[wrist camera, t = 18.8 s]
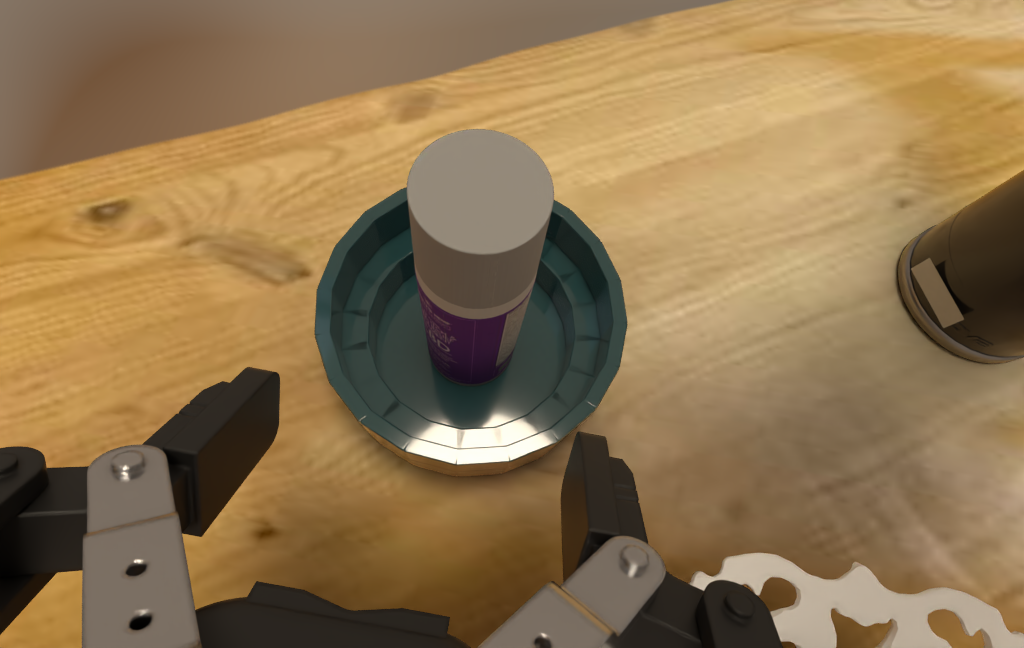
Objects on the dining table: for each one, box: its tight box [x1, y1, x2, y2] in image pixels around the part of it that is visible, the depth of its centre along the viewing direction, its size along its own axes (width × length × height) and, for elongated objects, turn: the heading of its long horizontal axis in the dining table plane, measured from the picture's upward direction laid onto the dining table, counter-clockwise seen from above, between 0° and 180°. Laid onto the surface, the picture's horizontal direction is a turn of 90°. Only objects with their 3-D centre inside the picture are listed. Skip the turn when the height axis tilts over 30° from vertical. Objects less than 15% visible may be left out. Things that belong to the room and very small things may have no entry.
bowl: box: [315, 187, 627, 477], centre depth 29 cm, size 14×14×6 cm
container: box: [407, 129, 554, 386], centre depth 24 cm, size 5×5×15 cm
